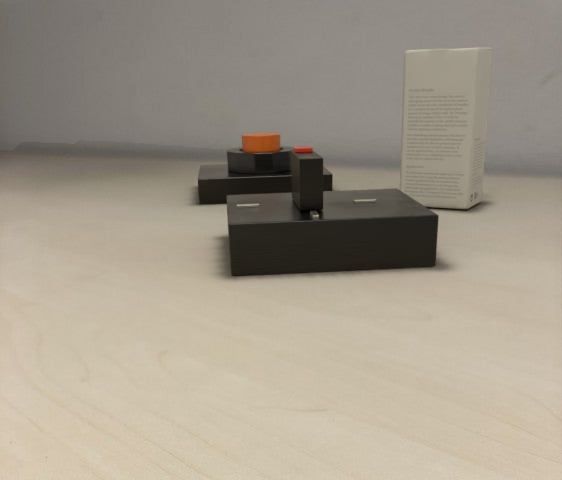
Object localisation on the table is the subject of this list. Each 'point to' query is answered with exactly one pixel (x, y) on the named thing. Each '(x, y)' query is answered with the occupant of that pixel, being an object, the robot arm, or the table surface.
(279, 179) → the button block
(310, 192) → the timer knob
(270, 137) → the button
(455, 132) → the cosmetic box
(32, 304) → the table surface
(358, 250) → the panel
